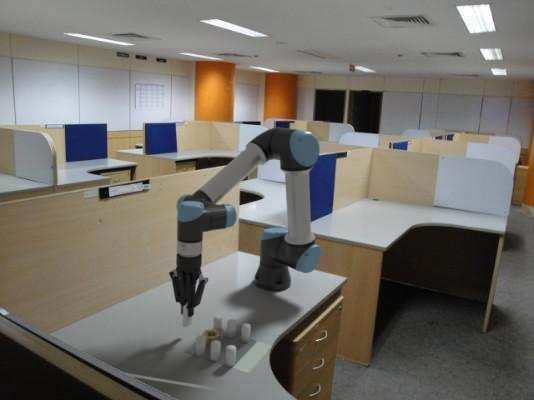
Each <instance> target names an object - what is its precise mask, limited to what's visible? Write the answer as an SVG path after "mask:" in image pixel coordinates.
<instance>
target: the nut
mask: <svg viewBox="0 0 534 400" xmlns="http://www.w3.org/2000/svg"><path fill="white" fill-rule="evenodd" d="M201 336H205V337H206V347H211V342H212V341H214V340H218V341H220V332H218V331H216V330H214V329H212V328H211V329H206V330H204V331H203V333H202V335H201Z"/></svg>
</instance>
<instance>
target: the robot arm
mask: <svg viewBox="0 0 534 400" xmlns="http://www.w3.org/2000/svg"><path fill="white" fill-rule="evenodd" d="M320 151H321V148H320V142H319V141H318V138H317V137H316V135H314V133H312V132H310V131H308V130H304V129H296V128H288V127H287V128H286V127H279V126H277V127H272V128H270V129H266V130H264V131H262V132H261V133H259V134H258V135H256V136H255V137H254V138H253V139H251V140H250V141H249V142H248V143H247V144H245V149H244V150H242V151H241V152H240V153H239V154H238V155H237V156H236V157H234V159H231V161H230V162H229V163H227V165H225V166H224V167H223V168H222V169H220V171H218V172H217V173H216V174H214V176H212V177H211V178H210V179H209V180H208V181H206V182H205V183H204V184H203V185H202V186H201V187H200V188H198V189H197V190H196V191H194V193H192V194H183V195H182V196H180V197H179V198H178V200H177V201H176V210H177V217H176V222H177V223H176V224H177V225H176V228H177V229H176V232H177V233H176V252H177V253H176V260H175V261H176V262H175V264H176V267H175V269H173V270H171V271H169V272H168V275H169V276H170V279H171V282H172V284H171V285H172V288H173V289H172V290H173V294H174V295H173V296H174V299H175V302H176V303H177V304H180V315H182V325H181V326H182V327H184V328H187V327H189V326H190V325H192V322H193V321H192V319H193V316H194V314H195V308H196V307H198V306H199V305H200V304H201V301H202V298H203V295H204V291H205V288H206V284H207V283H208V281H209V278H208V277H204V275H203V272H202V263H203V262H202V261H203V254H202V253H203V238H204V233H206V232H212V231H216V230H225V229H228V228H231V227H234V225H236V222H237V217H238V216H237V215H238V214H237V211H236V208H235V207H234V206H233V204H230V203H221V204H217V203H219V202H220V201H221V200H222V199H223V198H224V197H225V196H226V195H228V193H230V192H232V190H233V189H234V188H235V187H236V186H238V185H239V183H241V182H242V181H243V180H244V179H245V178H247V176H249V175H250V174H251V173H252V172H253V171H254V170H255V169H257V168H258V167H259V166H263V165H265V164H267V162H269V161H271V160H278V161H279V165H280V166H279V168H280V171H282V172H283V173H284V178H285V179H284V181H285V199H286V216H287V217H286V219H287V227H270V228H265V229H264V230H262V232H261V238H260V245H259V250H260V251H259V264H258V268H257V269H256V272H255V275H254V280H253V281H254V285H256V286H257V288H259V289H260V288H261V289H263V290H266V291H267V290H268V291H282V290H287V289H289V288H290V287H291V285H292V276H291V274H290V273H291V272H290V269H289V268H291V269H292V270H295V271H296V272H300V273H303V274H310V273H311V272H313V271H315V269H316V268H318V266H319V265H320V262H321V260H322V259H323V250H322V249H323V248H322V247H321V246H320V245H318V244H316V235H315V234H314V233H313V232H312V226H311V225H312V223H311V222H312V220H311V193H310V192H311V191H310V172H311V170H312V169H313V168H314V165H315V164H316V162H318V157H319V156H320ZM197 284H198V285H197Z"/></svg>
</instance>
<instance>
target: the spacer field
mask: <svg viewBox="0 0 534 400" xmlns="http://www.w3.org/2000/svg"><path fill="white" fill-rule="evenodd" d="M226 323H227V327H226V330H223V316H222V315H214V316H213V325H212V326H213V327H212V328H211V329H214V330H216V331H218V332H220V341H218V340H214V341H212V342H211V347H206V337H205V336H202V335H197V336H196V338H195V342H194V343H193V344H191V346H190V347H188V348H187V349H185V351H184V352H185V353H187V354H190V355H193V356H196V357H199V358H202V359H205V360H208V361H210V362H214V363H217V364H219V365H222V366H225V367H228V368H231V369H234V370H237V371H240V372H243V373H245V374H250V373H251V371H252V370H253V369H254V368H255V367H256V366H257V364H258V363H259V362H260V361H261V359H262V358H264V356H265V355H266V354H267V352H268V351H269V350H270V349H271V348H272V347H273V346H272V345H271V344H268V343H266V342H265V343H264V342H261V341H257V340H255V339H251V330H252V329H251V328H252V327H251V326H252V325H251V324H249V323H242V324H241V330H240V331H241V332H240V335H238V334H237V320H236V319H228V320H227V322H226Z"/></svg>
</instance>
